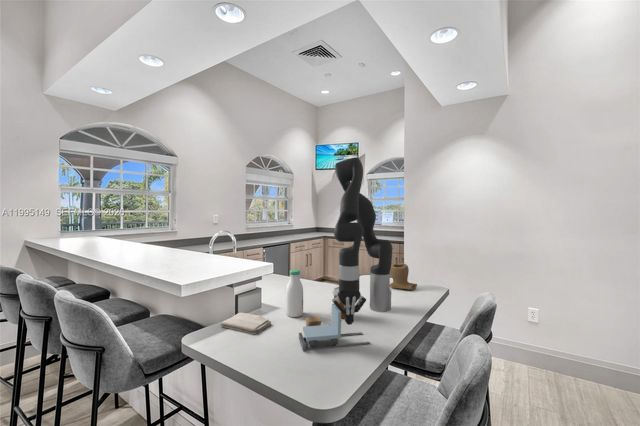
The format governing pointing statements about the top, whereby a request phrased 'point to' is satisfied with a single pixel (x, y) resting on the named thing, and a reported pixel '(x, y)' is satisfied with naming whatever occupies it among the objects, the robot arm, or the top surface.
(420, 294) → the top surface
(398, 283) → the tan boot
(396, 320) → the top surface
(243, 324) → the washcloth
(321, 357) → the top surface
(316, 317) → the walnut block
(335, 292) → the disposable coffee cup
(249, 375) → the top surface
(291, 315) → the milk bottle
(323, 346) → the rails
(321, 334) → the pale blue l-shaped block
